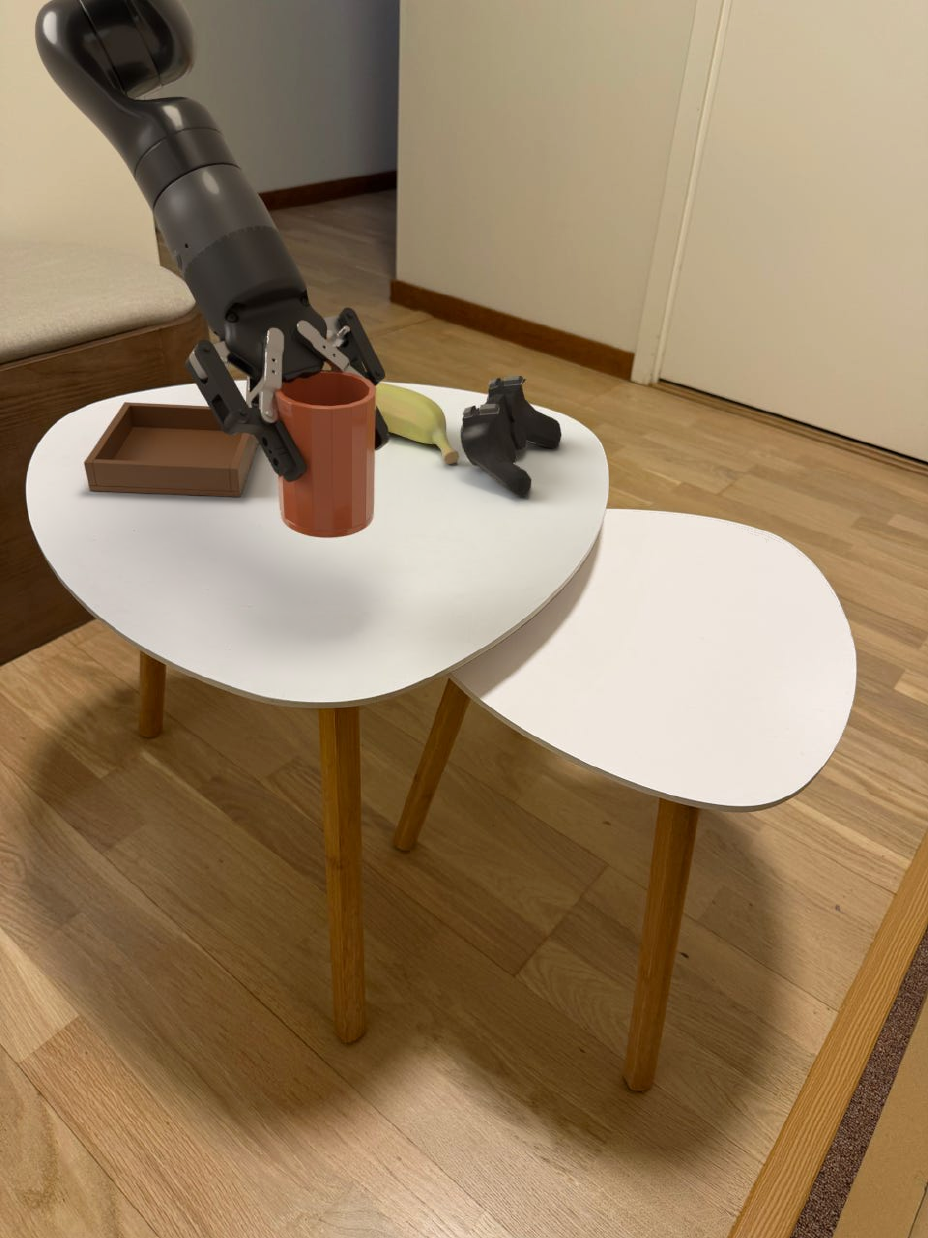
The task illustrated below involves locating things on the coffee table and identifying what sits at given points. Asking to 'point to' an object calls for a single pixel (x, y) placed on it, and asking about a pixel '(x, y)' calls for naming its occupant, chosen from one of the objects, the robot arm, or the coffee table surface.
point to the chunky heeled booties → (506, 433)
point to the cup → (330, 453)
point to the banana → (414, 417)
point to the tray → (169, 453)
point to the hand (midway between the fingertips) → (340, 461)
